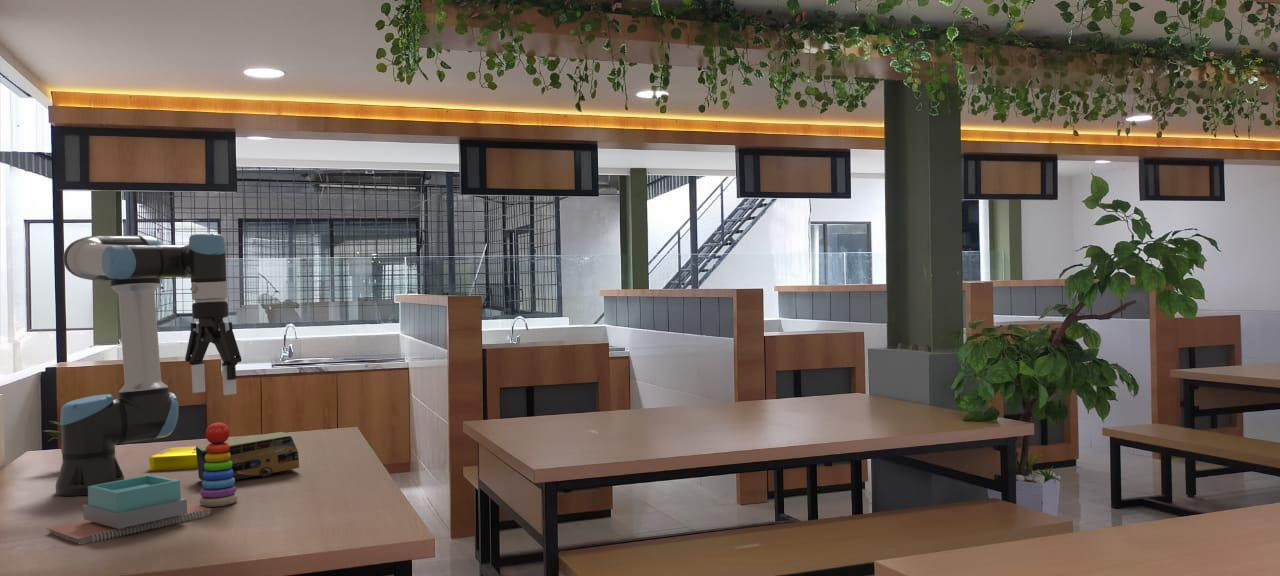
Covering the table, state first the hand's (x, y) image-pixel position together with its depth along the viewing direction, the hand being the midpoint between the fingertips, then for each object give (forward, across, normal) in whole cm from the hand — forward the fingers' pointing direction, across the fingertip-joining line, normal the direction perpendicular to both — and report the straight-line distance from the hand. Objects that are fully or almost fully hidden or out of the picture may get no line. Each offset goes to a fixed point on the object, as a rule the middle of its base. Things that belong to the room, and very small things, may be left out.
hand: (214, 393), depth 219 cm
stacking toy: (+26, 0, 0) cm, 26 cm away
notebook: (+26, 0, -20) cm, 33 cm away
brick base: (+24, +3, -20) cm, 31 cm away
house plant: (+25, -84, +4) cm, 88 cm away
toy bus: (+26, -23, +21) cm, 40 cm away
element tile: (+26, -58, +22) cm, 67 cm away
